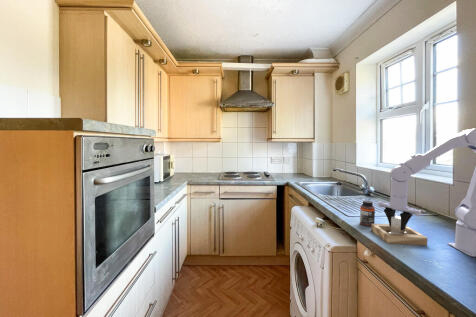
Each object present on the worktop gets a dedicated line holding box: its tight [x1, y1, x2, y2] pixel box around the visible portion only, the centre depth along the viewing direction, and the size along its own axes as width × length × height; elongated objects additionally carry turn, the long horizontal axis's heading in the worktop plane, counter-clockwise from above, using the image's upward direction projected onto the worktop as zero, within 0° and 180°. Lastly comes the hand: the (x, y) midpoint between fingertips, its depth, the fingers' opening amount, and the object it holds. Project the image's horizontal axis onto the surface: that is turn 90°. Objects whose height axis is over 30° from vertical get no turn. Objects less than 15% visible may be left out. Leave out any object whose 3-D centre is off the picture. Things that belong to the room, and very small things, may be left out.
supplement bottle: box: [359, 199, 376, 227], centre depth 103 cm, size 6×6×11 cm
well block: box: [370, 223, 428, 246], centre depth 89 cm, size 13×14×3 cm
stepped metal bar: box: [389, 214, 406, 234], centre depth 89 cm, size 4×7×8 cm, turn 120°
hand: (397, 227), depth 89 cm, fingers closed on stepped metal bar, 3 cm apart
